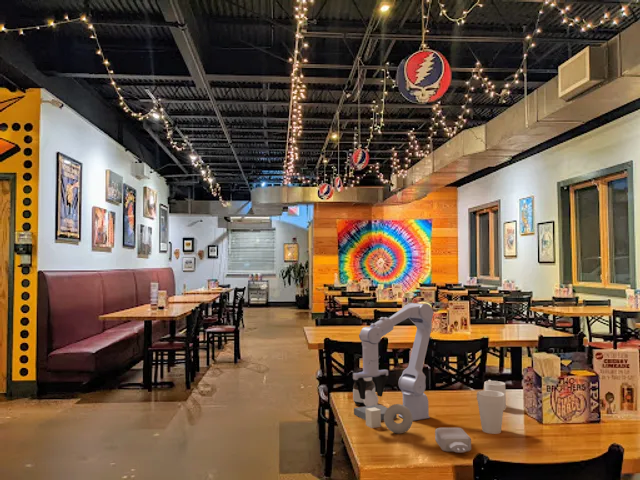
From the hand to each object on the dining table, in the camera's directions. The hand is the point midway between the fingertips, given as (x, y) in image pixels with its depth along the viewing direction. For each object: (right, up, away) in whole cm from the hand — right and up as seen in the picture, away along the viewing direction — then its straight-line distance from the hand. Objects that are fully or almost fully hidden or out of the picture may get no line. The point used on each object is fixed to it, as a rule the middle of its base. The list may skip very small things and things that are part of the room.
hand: (371, 397), depth 183 cm
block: (+1, -10, -1) cm, 10 cm away
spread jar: (+1, -13, +28) cm, 31 cm away
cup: (+54, -12, +25) cm, 61 cm away
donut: (+9, -10, -9) cm, 16 cm away
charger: (+24, -9, -26) cm, 36 cm away
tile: (+3, -11, +11) cm, 16 cm away
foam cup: (+42, -10, -7) cm, 43 cm away
